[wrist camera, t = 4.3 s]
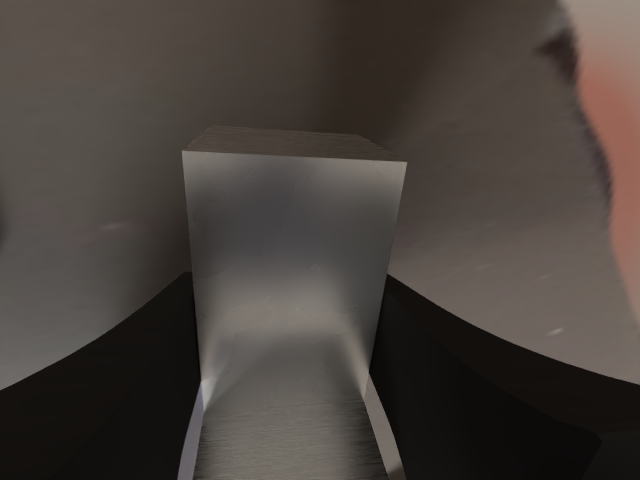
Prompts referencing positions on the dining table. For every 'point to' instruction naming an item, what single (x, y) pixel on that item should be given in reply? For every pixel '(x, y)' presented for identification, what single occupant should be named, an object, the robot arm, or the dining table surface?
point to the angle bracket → (288, 298)
